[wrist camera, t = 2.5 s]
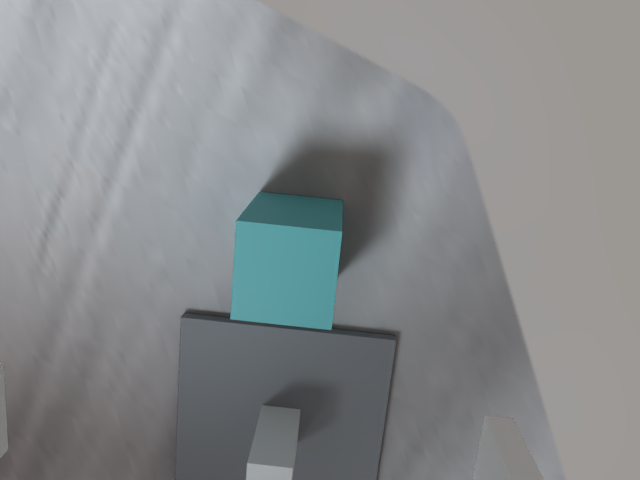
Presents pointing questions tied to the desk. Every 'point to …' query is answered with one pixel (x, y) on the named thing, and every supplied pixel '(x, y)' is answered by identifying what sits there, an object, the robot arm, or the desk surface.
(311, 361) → the stand
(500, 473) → the robot arm
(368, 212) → the desk surface
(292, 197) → the teal rectangular block
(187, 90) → the desk surface
